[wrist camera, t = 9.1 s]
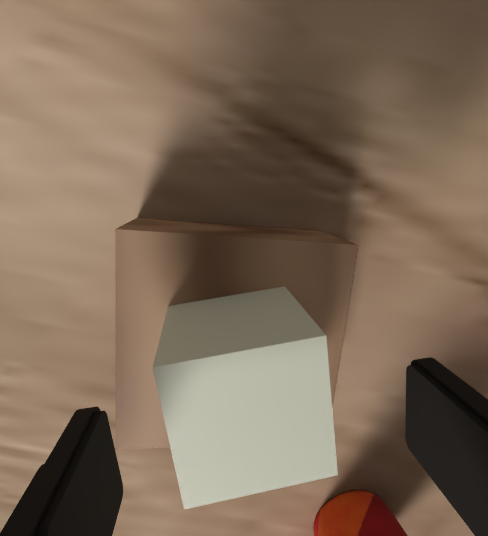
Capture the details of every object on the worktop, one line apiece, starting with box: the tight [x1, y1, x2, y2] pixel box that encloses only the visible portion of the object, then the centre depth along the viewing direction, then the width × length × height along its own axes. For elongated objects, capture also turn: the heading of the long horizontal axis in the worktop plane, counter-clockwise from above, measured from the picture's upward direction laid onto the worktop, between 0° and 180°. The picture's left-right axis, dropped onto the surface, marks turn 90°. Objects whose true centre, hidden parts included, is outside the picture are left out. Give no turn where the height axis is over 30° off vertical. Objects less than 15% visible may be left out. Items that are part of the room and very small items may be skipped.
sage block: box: [152, 286, 338, 509], centre depth 13 cm, size 5×5×5 cm
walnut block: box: [116, 218, 358, 449], centre depth 18 cm, size 10×10×5 cm
